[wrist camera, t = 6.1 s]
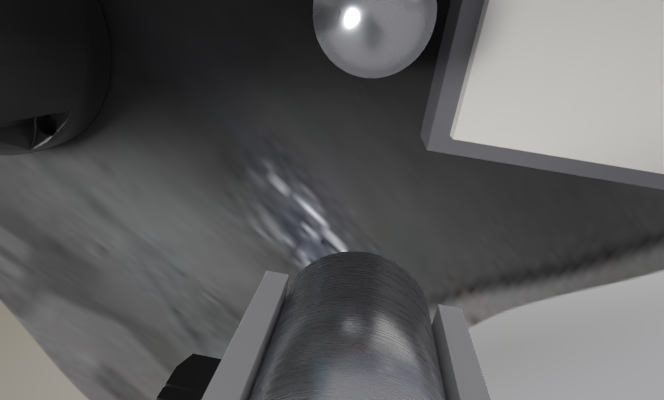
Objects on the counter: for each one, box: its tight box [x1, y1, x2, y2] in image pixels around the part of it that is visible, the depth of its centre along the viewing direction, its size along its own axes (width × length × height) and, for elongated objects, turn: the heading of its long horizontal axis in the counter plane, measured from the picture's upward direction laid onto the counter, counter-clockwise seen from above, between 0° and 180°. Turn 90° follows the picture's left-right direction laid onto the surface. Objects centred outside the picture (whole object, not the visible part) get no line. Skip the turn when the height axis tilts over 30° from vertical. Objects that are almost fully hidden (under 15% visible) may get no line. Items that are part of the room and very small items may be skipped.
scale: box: [420, 0, 664, 190], centre depth 20 cm, size 15×17×5 cm
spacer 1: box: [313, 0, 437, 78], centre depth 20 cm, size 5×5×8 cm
